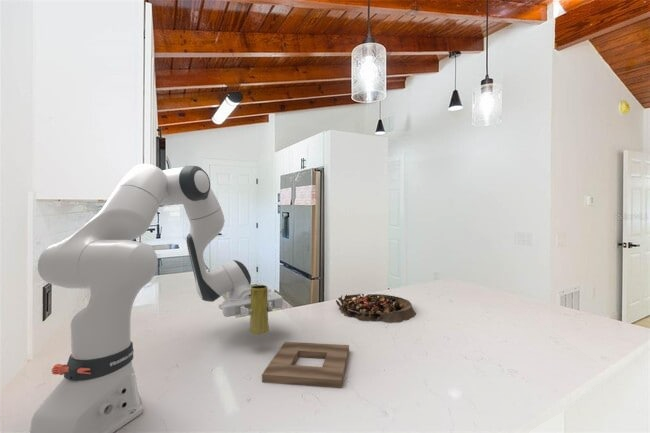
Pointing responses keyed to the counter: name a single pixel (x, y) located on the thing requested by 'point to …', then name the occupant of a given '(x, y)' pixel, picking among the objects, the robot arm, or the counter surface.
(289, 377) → the socket
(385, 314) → the food dish
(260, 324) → the vase
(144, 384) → the counter surface
